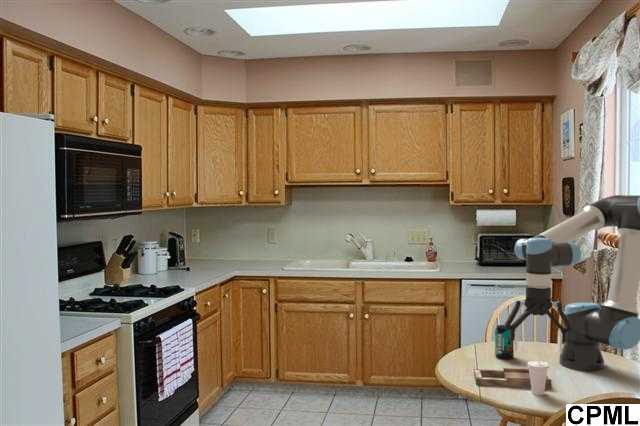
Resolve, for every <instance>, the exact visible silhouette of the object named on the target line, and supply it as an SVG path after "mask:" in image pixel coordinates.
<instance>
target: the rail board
mask: <svg viewBox="0 0 640 426" xmlns="http://www.w3.org/2000/svg"><path fill="white" fill-rule="evenodd" d="M473 376H474V380H475V381H474V382H475V384H476V385H477V386H478V385H479V386H480V385H481V386H497V387H513V388H515V387H516V388H530V389H531V381H530V373H529V368H520V367H515V368H514V367H503V369H502V370H501V369H481V368H477V369H476V368H474V369H473ZM488 377H489V378H488ZM491 377H492V378H491ZM493 377H498V378H493ZM499 377H500V378H499ZM501 377H502V378H501ZM545 389H550V390H552V379H551V378H549V377H548V375H547V376H546V383H545Z"/></svg>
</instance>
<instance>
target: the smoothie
mask: <svg viewBox="0 0 640 426" xmlns="http://www.w3.org/2000/svg"><path fill="white" fill-rule="evenodd" d="M527 367H528V369H529V373H530V381H531V388H530V389H531V393H532V394H533V395H536V396H542V395H543V396H544V395H545V390H546V388H545V383H546V376H548V369H549V368H550V367H549V363H547V362H545V361H542V360H541V350H538V359H537V360H529V361H528V362H527Z"/></svg>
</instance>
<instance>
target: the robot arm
mask: <svg viewBox="0 0 640 426" xmlns="http://www.w3.org/2000/svg"><path fill="white" fill-rule="evenodd" d="M608 227H614V228H615V227H617V228H616V231H617V232H618V233H619V235H620V237H619V241H618V247H617V251H616V256H615V262H614V267H613V270H612V275H611V281H610V285H609V291H608V295H607V298H606V300H605V302H603V303H601V305H600V304H599V303H598V302H585V301H584V302H572V303H568V304H566V306H565V308H564V311H563V304H562V302H560V301H559V300H556V301H552V296H551V295H552V288H551V286H552V268H553V267H564V266H566V267H568V266H574V265H576V264H579V262H580V260H581V258H582V250H581V248H580V247H579V245H577V244H576V243H574V242H573V241H575V240H577V239H579V238H581V237H582V236H584V235H586V234H588V233H590V232H591V231H599V230H601V229H603V228H608ZM513 250H514V254H515V255H516V257H517V258H518V259H519V260H524V261H526V262H525V263H526V264H525V268H526V271H525V272H526V273H525V284H526V287H525V300H519V299H517V298H516V299H515V301H514V306H513V308H512V310H511V312H510V314H509V315H508V317H507V319H506V321H505V323H504V325H505V327H506V328H507V329H510V338H511V340H514V346H513V349H514V352H518V330H517V329H518V327H519V326H520V325H522V323H523V322H524V321H525V320H526V319H527V318H528V317H529V316H531V315H533V316H537V315H539V316H545V315H547V316H548V317H549V319H550V320H551V321H552V322H553V323H554V325H556V327H557V328H558V329H559V330H558V331H557V353H559V362H558V363H560V365H562V366H564V367H565V368H568V369H572V370H578V371H585V372H586V371H587V372H592V371H601V370H603V369H605V359H604V357H603V353H602V349H601V347H600V344H603V345H606V346H610V347H612V348H615V349H621V350H630V349H632V348H634V347H635V346H637V345H638V344H639V342H640V318H639V312H638V311H637V309H636V308H635V307H636V301H637V296H638V292H639V286H640V195H632V194H631V195H630V194H629V195H622V194H620V195H619V194H617V195H616V194H615V195H611V196H607V197H605V198H601V199H599V200H596V201H595V202H592V203H590V204H589V205H587V206H585V207H583V208H582V210H581V212H579V213H577V214H575V215H574V216H571V217H570V218H568V219H566V220H564V221H562V222H560V223H559V224H557V225H554V226H553V227H551V228H549V229H547V230H545V231H543V232H541V233H540V234H537V235H535V236H534V237H530V238H527V237H526V238H520V239H518V240H517V241H516V242H515V245H514V249H513ZM523 306H524V307H525V310H523V312H522V314H520V315H519V316H518V317H517V319H516V320H515V321H514V319H515V318H516V316H517V314H518V313H519V310H520V308H522V307H523ZM552 307H554V309H556V311H557V313H558V314H559V317H560V318H561V320H562V323H563V324H564V326H563V325H562V324H561V323H560V322H559V321H558V319H557V318H556V317H555V316H554V315H553V314H552V312H550V310H551V308H552Z"/></svg>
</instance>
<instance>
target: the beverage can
mask: <svg viewBox="0 0 640 426" xmlns="http://www.w3.org/2000/svg"><path fill="white" fill-rule="evenodd" d="M513 346H514V340H511V338H510V329H507V328H506V327H505V324H498V325H496V327H495V329H494V356H495V357H496V358H498V359H501V360H511V359H513V358H514V356H515V355H514V354H515V353H514V352H515V351H514V349H513Z"/></svg>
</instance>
